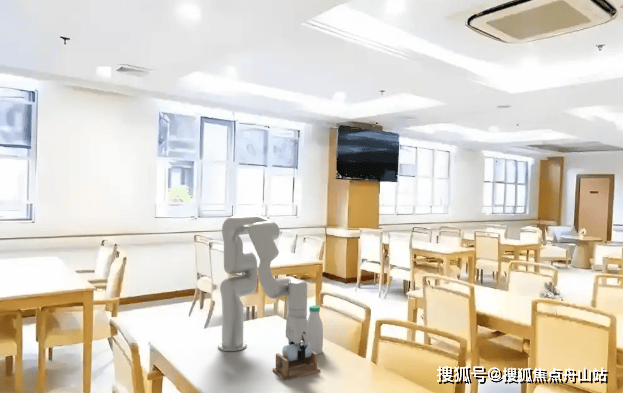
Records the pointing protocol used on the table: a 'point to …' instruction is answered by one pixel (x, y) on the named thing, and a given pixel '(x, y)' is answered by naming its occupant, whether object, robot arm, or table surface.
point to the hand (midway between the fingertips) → (296, 356)
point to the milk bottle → (315, 329)
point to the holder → (295, 367)
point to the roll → (295, 351)
